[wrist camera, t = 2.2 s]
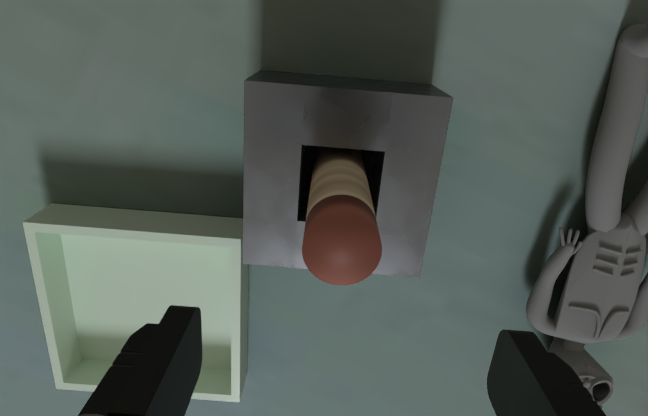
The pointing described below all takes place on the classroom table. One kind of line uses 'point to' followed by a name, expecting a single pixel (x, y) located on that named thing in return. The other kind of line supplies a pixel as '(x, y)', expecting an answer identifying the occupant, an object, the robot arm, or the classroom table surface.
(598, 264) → the alien figure
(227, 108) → the classroom table surface
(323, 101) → the socket block
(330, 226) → the pin
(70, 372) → the tray
